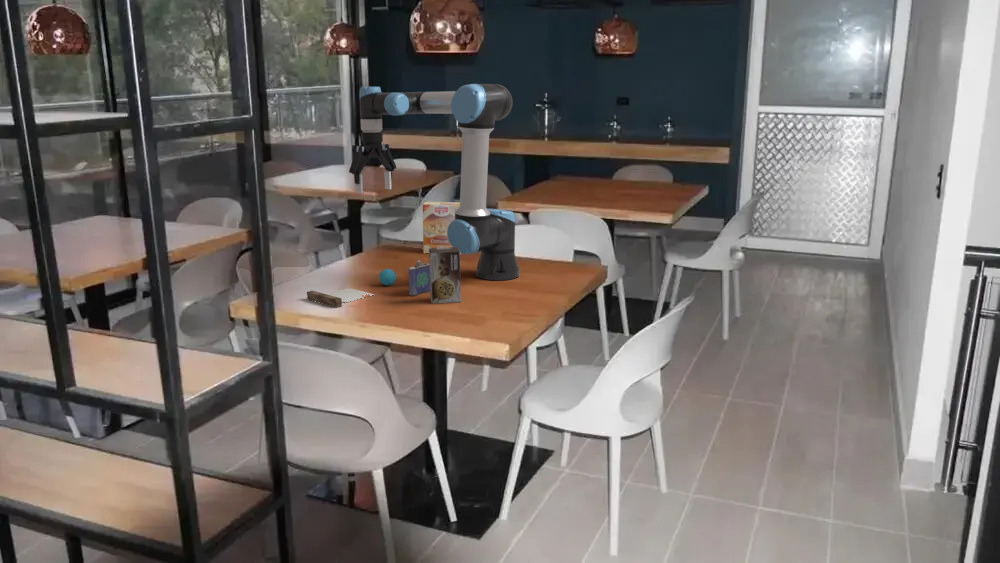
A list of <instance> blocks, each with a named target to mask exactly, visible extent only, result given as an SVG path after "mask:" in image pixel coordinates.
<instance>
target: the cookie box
mask: <svg viewBox="0 0 1000 563" xmlns="http://www.w3.org/2000/svg"><path fill="white" fill-rule="evenodd" d="M428 260H429V261H428V264H429V270H430V292H429V298H430V302H431V304H433V305H434V304H448V303H450V304H451V303H461V302H462V298H461V296H462V293H461V292H462V291H461V290H462V288H461V255H460V251H459V249H458V248H457V247H449V248H429V254H428Z"/></svg>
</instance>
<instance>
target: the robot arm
mask: <svg viewBox="0 0 1000 563" xmlns="http://www.w3.org/2000/svg"><path fill="white" fill-rule="evenodd" d="M358 99H359V112H360V113H359V115H360V130H361V131H362V132H361V133H360V136H361V137H360V138H361V143H362V146H361V145H360V146H359V145H356V146H355V151H354V155H353V158H352V161H351V165H350V167H349V169H348V172H349V174H352V175H353V177H354V178H353V180H354V182H353V183H354V184H355V191H356V192H355V193H357V194H364V188H363V185H364V184H363V174H361V173H362V171H363V169H364V168H365V166H366V164H367V162H368V160H370V159H373V158H377V159H378V162H380V163H381V165H382V167H383V168H384V169H385V170H384V171H383V174H384V189H385V190H392V180H393V172H394V171H395V169H397V165H396V163H395V160H394V158H393V155H392V153H391V151H390V145H389V144H388V143H383V141H384V139H383V138H384V137H383V132H382V131H383V115H385V116H395V117H396V116H403V115H416V114H417V115H420V114H421V115H422V114H423V115H424V114H425V115H427V114H435V115H436V114H437V115H438V114H442V115H443V114H448V115H449V114H451V115H452V116H453V118H454V119H455V120H456V121H457V128H458V129H459V130H460V131H461V136H462V137H461V140H462V141H461V162H460V163H461V165H460V166H461V167H460V189H459V190H460V192H459V193H460V194H459V203H460V207H459V208H458V209H457V210H456V211H455V220H454V221H452V222H451V223H450V224H449V226H448V229H447V236H448V240H449V242H450V244H451V245H452V246H453V247H457V248H458V249H459V251H460V253H462V255H468V254H470V255H472V254H475V253H477V252H480V255H479V258H478V261H477V266H476V268H475V276H476V277H477V278H479V279H481V280H482V279H483V280H488V281H508V280H509V281H510V280H513V279H517V278H519V277H520V267H519V265H518V260H517V257H516V255H515V253H516V250H515V248H516V246H515V245H516V242H515V240H516V216H515V213H514V212H513V211H511V210H506V209H501V208H500V209H498V208H487V194H488V193H487V191H488V172H489V171H488V169H489V168H488V166H489V152H490V150H489V149H490V148H489V147H490V134H491V133H492V131H494V130H495V123H496V121H500V120H504V118H506V117H507V116H508V115H509V114H510V112H511V111H512V108H513V97H512V94H511V92H510V91H509V90H508V88H506V87H505V86H503V85H502V84H499V83H498V84H497V83H470V84H465V85H461V86H460V87H459V88H458V89H457V90H452V91H450V90H449V91H414V92H413V91H412V92H409V91H408V92H407V91H405V92H399V91H398V92H382V90H381V86H361V87H360V88H359V98H358ZM518 276H519V277H518ZM516 277H517V278H516Z"/></svg>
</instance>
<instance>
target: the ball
mask: <svg viewBox="0 0 1000 563" xmlns="http://www.w3.org/2000/svg"><path fill="white" fill-rule="evenodd" d="M396 278H397V275H396V272H394V270H393V269H391V268H385V269H383V270H381V271H380V273H379V274H378V279H379V282H380V283H381V284H382V285H384V286H387V287H388V286H391V285H393V284H394V283H395V282H396Z"/></svg>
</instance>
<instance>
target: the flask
mask: <svg viewBox="0 0 1000 563" xmlns="http://www.w3.org/2000/svg"><path fill="white" fill-rule="evenodd" d="M415 263H416V265H414V266H411V267H408V296H410V297H413V296H414V297H417V296H419V295H423V294H427V293H430V270H429V262H423V263H422V261H421V260H419V259H417V260H415Z"/></svg>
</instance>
